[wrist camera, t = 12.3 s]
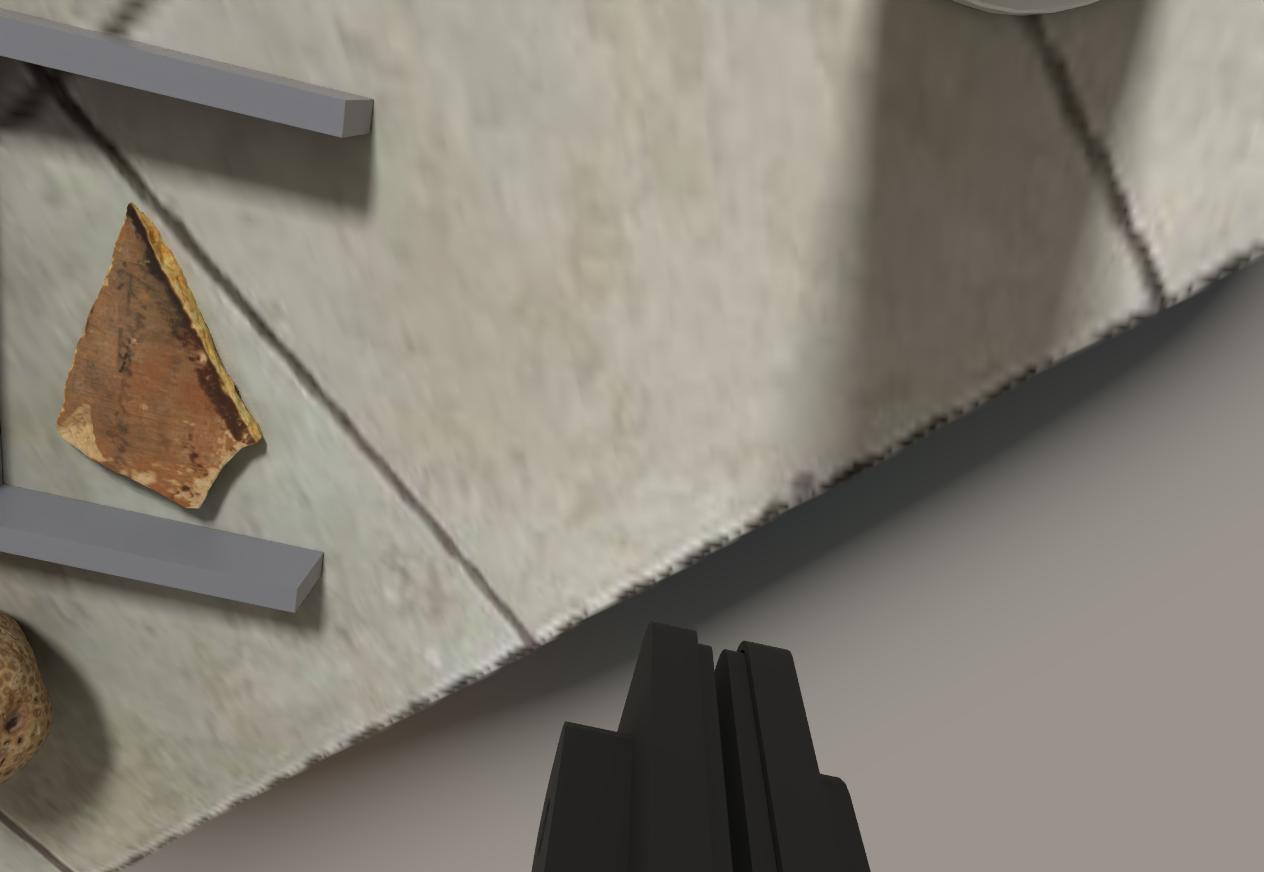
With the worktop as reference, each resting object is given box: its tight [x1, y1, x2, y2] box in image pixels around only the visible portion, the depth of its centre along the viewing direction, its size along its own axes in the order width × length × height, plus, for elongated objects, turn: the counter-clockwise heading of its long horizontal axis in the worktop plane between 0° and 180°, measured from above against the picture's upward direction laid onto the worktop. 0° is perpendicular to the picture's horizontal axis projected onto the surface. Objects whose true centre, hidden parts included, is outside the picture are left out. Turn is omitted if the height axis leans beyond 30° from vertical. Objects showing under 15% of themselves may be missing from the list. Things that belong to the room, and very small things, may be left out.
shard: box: [56, 203, 262, 509], centre depth 35 cm, size 11×8×2 cm
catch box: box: [0, 9, 374, 613], centre depth 33 cm, size 20×15×3 cm
